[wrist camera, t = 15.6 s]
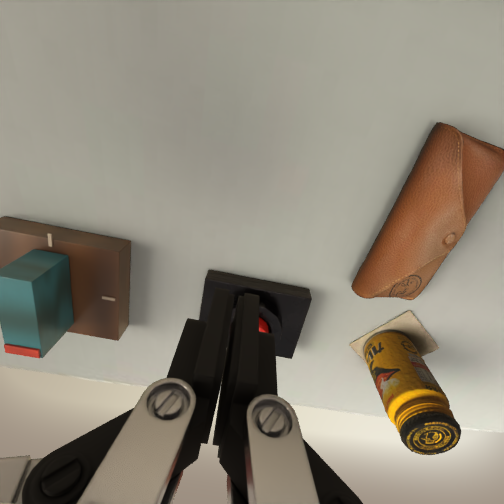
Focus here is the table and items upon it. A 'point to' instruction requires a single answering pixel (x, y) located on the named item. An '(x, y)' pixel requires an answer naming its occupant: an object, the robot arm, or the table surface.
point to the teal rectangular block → (35, 302)
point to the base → (80, 271)
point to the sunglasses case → (429, 213)
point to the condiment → (409, 384)
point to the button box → (264, 306)
